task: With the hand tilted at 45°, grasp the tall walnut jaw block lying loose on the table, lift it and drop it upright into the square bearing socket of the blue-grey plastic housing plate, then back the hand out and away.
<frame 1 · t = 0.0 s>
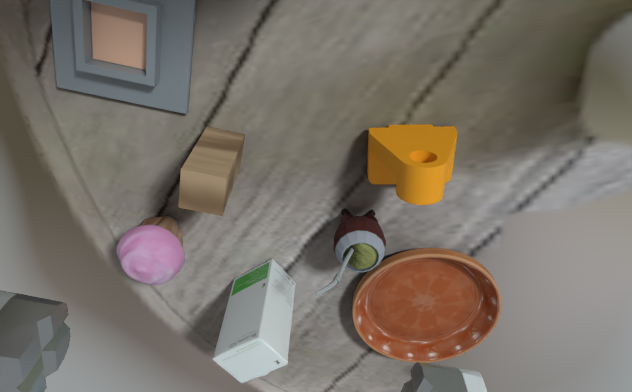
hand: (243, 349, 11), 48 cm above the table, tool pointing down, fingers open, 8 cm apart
saucer: (421, 296, 74), on the table
jaw block: (223, 147, 61), on the table
housing: (124, 34, 54), on the table
bracket: (407, 149, 61), on the table
skincare box: (265, 280, 73), on the table
cupcake: (166, 226, 68), on the table
mate gourd: (354, 223, 67), on the table
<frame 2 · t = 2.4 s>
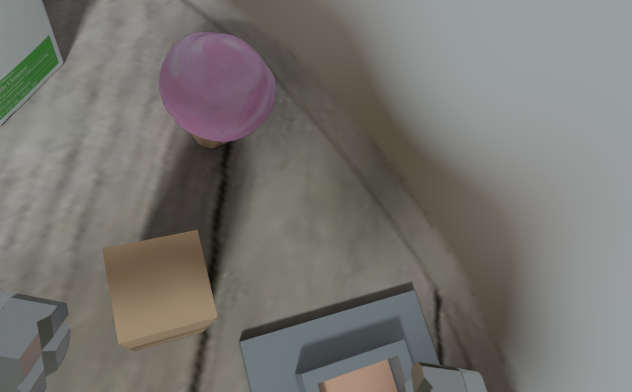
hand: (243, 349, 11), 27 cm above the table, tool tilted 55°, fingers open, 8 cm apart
jaw block: (163, 308, 35), on the table
cupcake: (211, 126, 42), on the table
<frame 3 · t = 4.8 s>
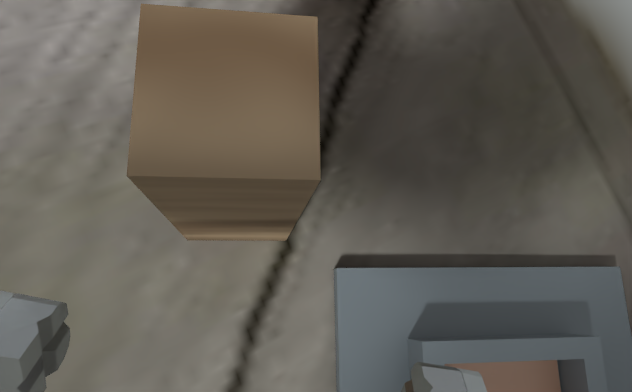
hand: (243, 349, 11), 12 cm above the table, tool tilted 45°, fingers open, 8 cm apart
jaw block: (238, 193, 24), on the table
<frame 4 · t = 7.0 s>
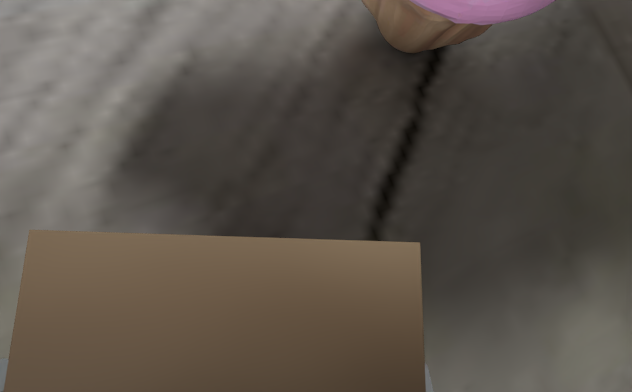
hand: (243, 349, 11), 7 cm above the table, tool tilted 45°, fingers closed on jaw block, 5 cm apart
jaw block: (244, 349, 17), on the table, touching gripper
cupcake: (411, 14, 21), on the table
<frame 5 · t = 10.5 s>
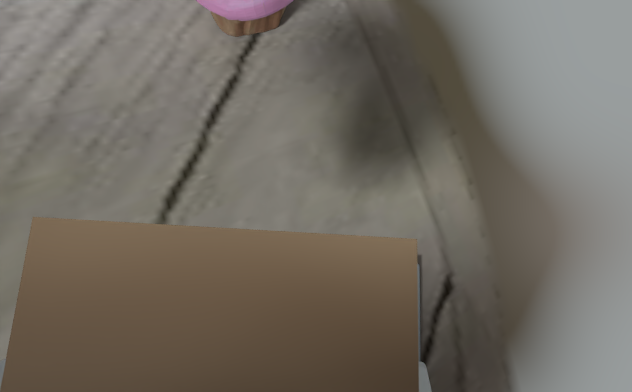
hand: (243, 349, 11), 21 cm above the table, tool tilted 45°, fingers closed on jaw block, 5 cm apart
jaw block: (247, 346, 17), point 14 cm above the table, touching gripper
cupcake: (242, 13, 36), on the table
when the fingers open (9 cm above the table, at t = 13.9 s): jaw block drops 1 cm, resting on housing.
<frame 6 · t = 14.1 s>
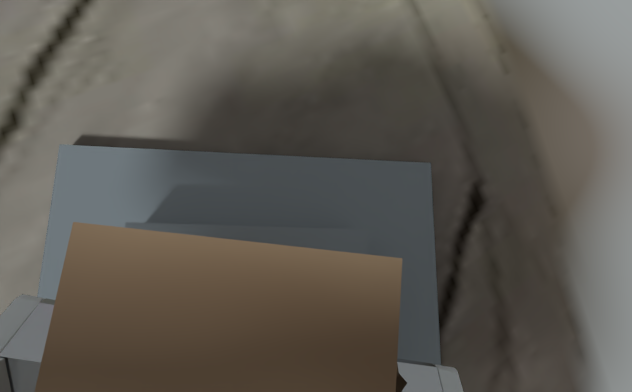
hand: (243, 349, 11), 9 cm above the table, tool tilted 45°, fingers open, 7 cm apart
jaw block: (247, 344, 18), point 1 cm above the table, touching housing
housing: (246, 344, 19), on the table
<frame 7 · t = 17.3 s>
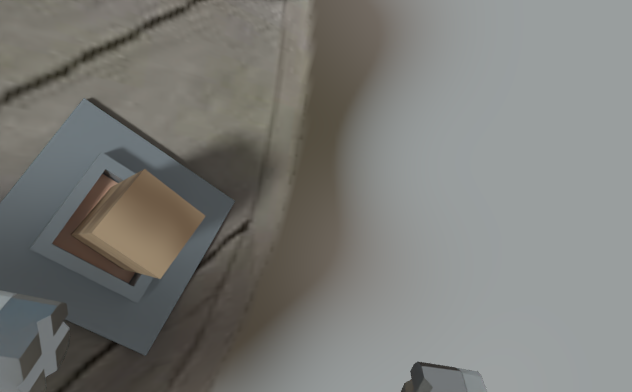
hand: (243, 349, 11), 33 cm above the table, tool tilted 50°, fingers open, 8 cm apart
jaw block: (116, 228, 39), point 1 cm above the table, touching housing
housing: (113, 228, 40), on the table
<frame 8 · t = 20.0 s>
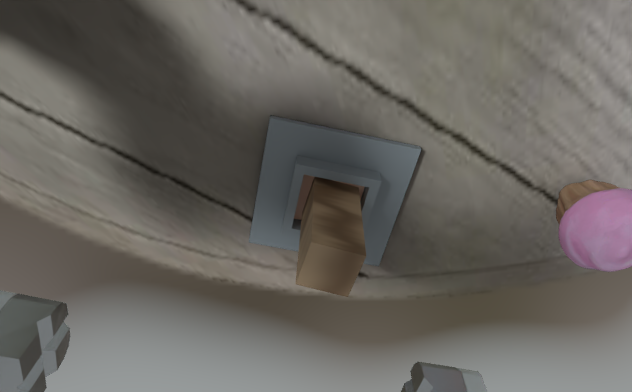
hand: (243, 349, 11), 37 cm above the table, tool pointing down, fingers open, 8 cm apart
jaw block: (329, 200, 51), point 1 cm above the table, touching housing
housing: (329, 195, 52), on the table
cupcake: (576, 195, 51), on the table
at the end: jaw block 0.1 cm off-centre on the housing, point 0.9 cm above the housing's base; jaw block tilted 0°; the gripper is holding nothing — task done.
